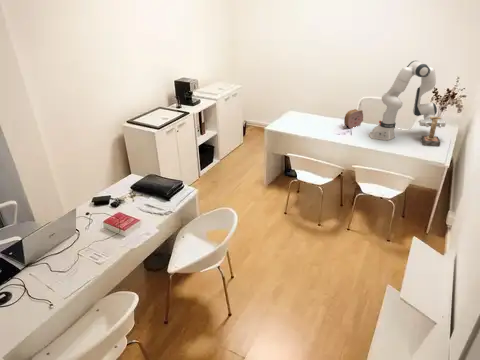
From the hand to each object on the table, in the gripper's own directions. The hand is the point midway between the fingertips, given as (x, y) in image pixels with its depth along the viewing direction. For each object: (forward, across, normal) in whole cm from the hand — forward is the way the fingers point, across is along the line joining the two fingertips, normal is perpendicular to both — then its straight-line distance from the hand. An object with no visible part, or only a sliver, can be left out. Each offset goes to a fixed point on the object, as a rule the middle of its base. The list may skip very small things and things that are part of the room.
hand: (433, 126), depth 303 cm
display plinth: (-1, 0, +16) cm, 16 cm away
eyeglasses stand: (-1, 0, +12) cm, 12 cm away
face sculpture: (-34, -65, +16) cm, 75 cm away
